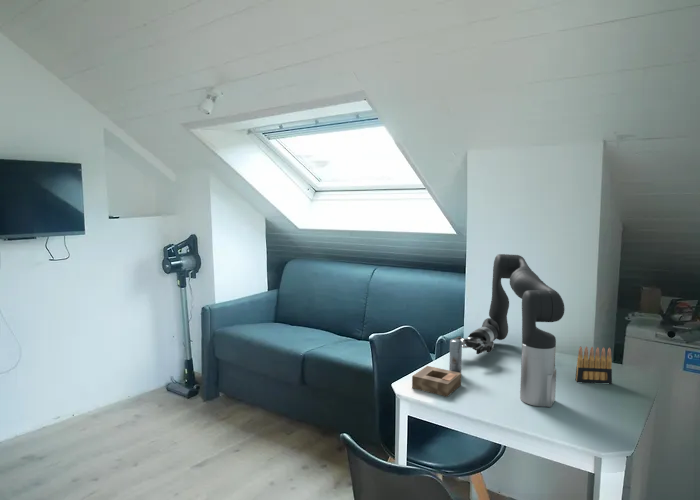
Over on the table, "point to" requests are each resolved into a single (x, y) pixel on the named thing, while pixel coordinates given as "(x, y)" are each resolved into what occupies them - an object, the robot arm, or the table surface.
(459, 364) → the barrel peg
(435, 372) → the block
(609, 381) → the ammunition clip
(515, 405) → the table surface
